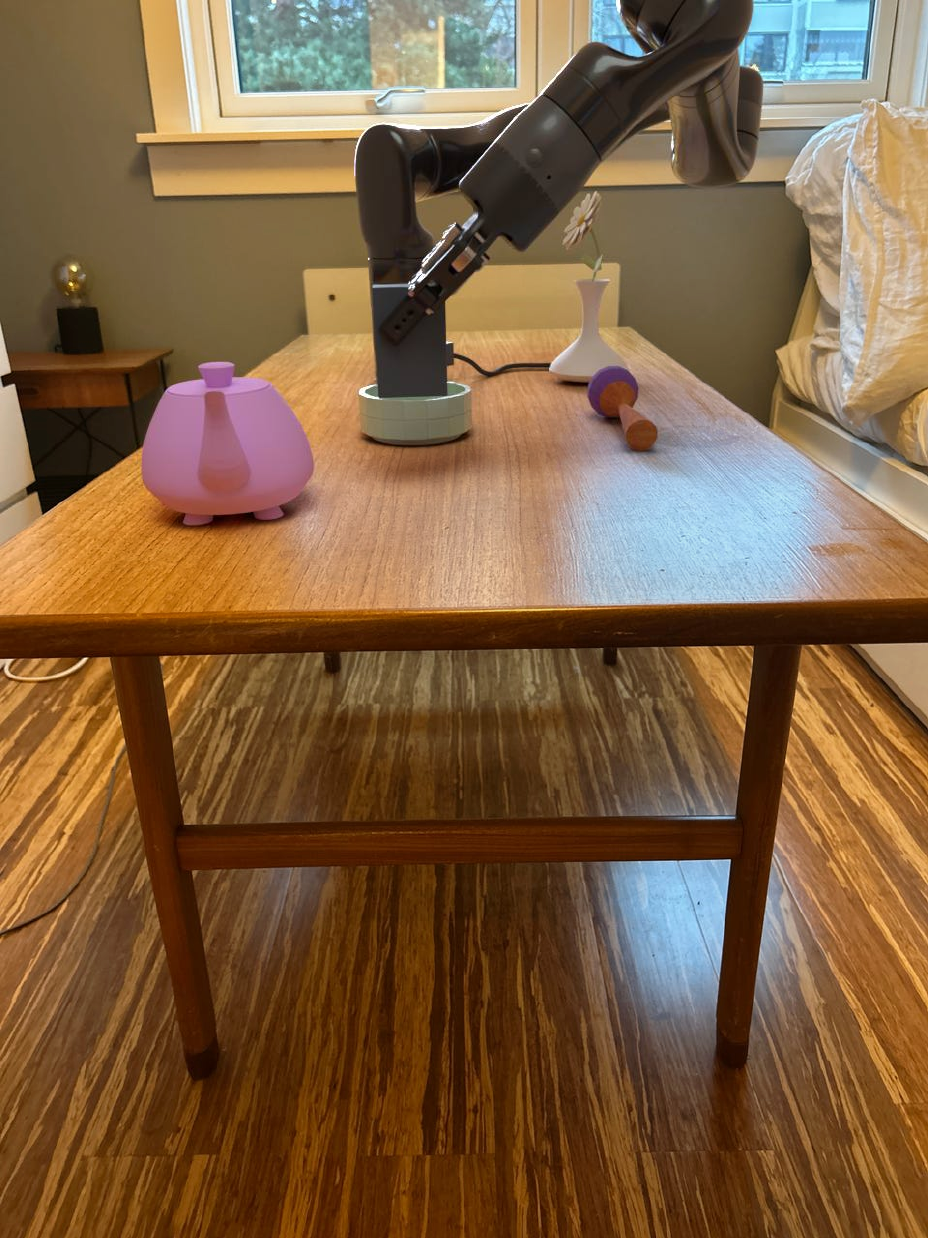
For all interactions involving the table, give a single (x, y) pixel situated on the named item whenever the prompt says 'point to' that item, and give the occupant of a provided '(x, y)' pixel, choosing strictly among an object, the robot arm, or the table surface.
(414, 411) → the bowl
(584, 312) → the flower in vase
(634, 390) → the kendama
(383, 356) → the dark gray rectangular block
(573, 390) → the table surface
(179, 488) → the teapot
